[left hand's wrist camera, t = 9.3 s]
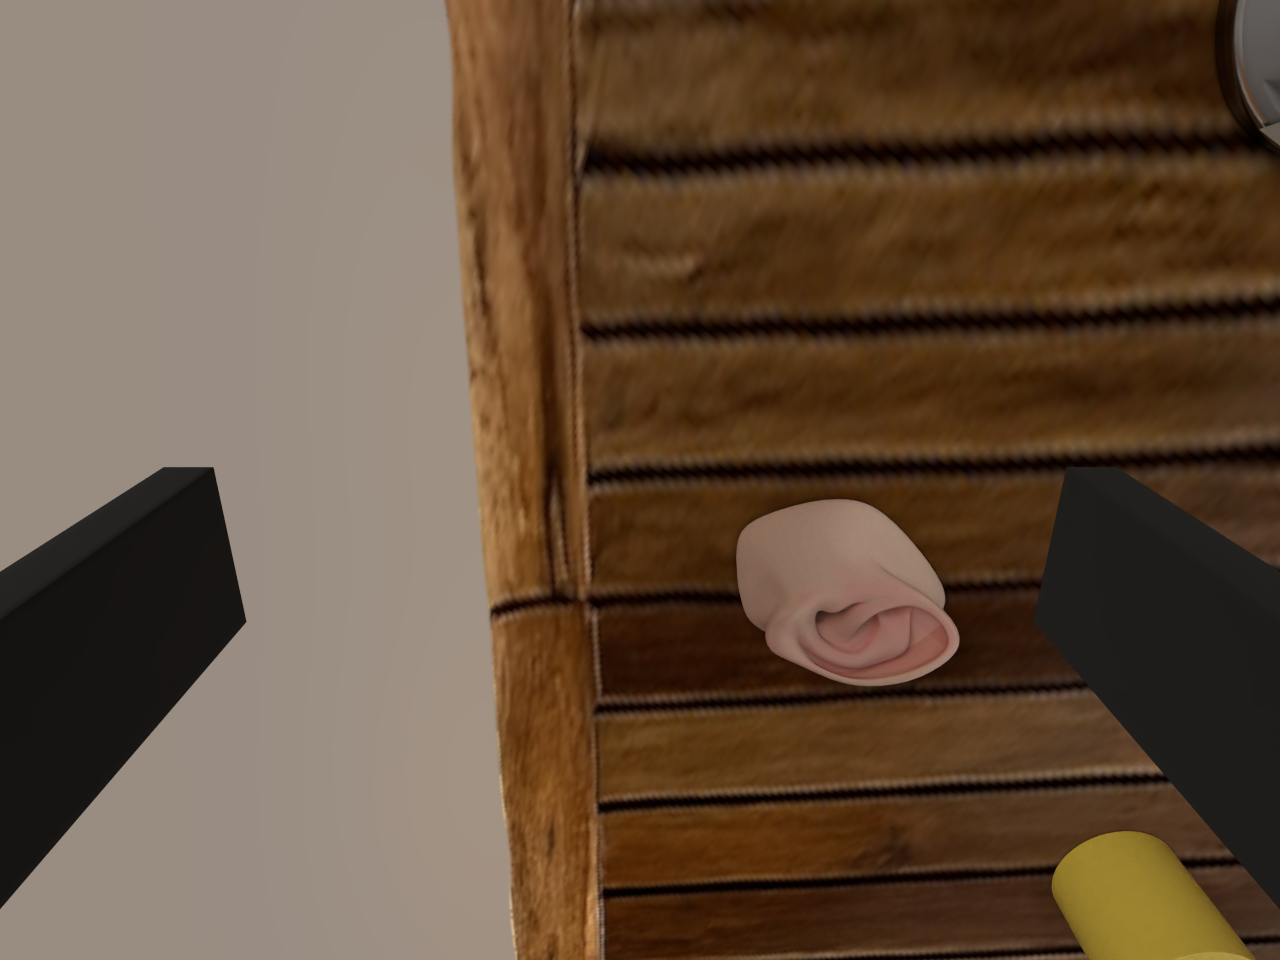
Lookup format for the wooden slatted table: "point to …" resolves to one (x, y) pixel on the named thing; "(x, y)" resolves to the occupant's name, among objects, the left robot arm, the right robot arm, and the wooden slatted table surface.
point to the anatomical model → (844, 593)
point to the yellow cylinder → (1139, 903)
